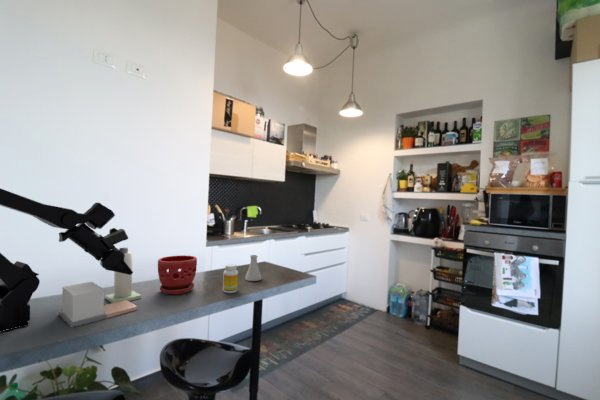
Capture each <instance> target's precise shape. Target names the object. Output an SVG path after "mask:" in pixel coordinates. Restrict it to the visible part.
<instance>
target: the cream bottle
mask: <svg viewBox="0 0 600 400" xmlns="http://www.w3.org/2000/svg"><path fill="white" fill-rule="evenodd" d="M119 250H120V251H121V252H123V253H124V255H125V257H124V262H125V263H126V264H127V265H128V266H129V268H130V269H131V270H132V271H133V251H129V248H128V247H119ZM113 272H114V278H113V279H114V280H113V290H114V291H113V294H114V297H117V298H121V297H127V296H130V295H131V294H132V290H133V273H132V274H131V275H128V274H124V273H119V272H115V271H113Z"/></svg>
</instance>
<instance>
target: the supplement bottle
mask: <svg viewBox="0 0 600 400" xmlns="http://www.w3.org/2000/svg"><path fill="white" fill-rule="evenodd" d="M224 267H225V268H224V269H225V270H223V273H222V292H224V293H228V294H232V293H236V292H237V291H238V289H239V288H238V287H239V285H238V284H239V283H238V282H239V271H238V270H237V268H238V267H237V264H235V263H227V264H225V266H224Z"/></svg>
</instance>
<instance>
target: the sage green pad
mask: <svg viewBox="0 0 600 400" xmlns="http://www.w3.org/2000/svg"><path fill="white" fill-rule="evenodd" d="M138 299H142V294H140V293H138V292H136V291H134V290H133V289H132V294H131V295H130V296H127V297H121V298H117V297H114V293H109V294H104V300H107V301H108V302H110V304H111V303H115V302H119V301H123V300H127V301H129V302H131V301H136V300H138Z"/></svg>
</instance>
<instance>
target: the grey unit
mask: <svg viewBox="0 0 600 400" xmlns="http://www.w3.org/2000/svg"><path fill="white" fill-rule="evenodd" d="M61 298H62V299H61V300H62V302H61V303H62V305H61V309H62V310H59V311H58V315H59V317H60V318H62V320H63V321H64V322H65V321H66V322H67V323H68V324H69V325H70V326H71V327H72V328H75V327H74V326H76V327H79V326H83V325H87V324H89V323H94V322H97V321H100V320H101V321H102V320H105V319H108V318H107V314H106V313H104V305H105V303H104V302H105V288H103V287H102V286H99V285H98V284H97V283H95V282H93V281H87V282H83V283H77V284H72V285H66V286H62V297H61ZM66 322H65V323H66ZM67 323H66V324H67ZM68 324H67V325H68ZM82 324H83V325H82ZM78 325H79V326H78ZM70 326H69V327H70ZM71 327H70V328H71Z"/></svg>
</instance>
